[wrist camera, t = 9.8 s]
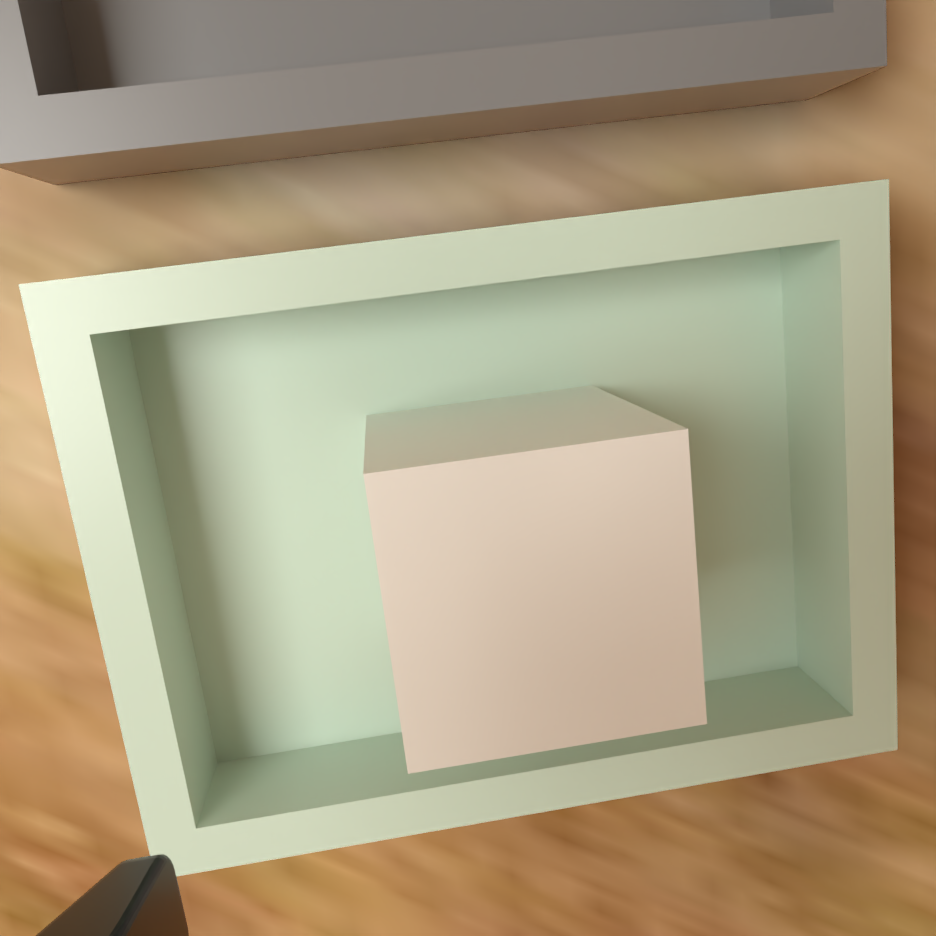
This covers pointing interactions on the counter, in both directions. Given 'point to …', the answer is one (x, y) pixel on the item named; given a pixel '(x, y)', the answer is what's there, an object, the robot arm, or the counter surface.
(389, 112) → the bin
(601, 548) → the stone block
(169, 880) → the robot arm
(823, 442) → the bin
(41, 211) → the counter surface
